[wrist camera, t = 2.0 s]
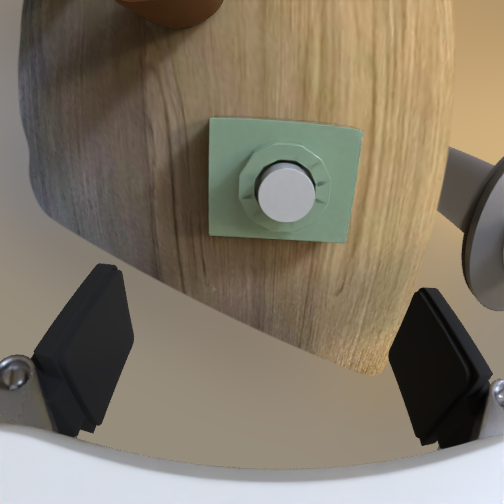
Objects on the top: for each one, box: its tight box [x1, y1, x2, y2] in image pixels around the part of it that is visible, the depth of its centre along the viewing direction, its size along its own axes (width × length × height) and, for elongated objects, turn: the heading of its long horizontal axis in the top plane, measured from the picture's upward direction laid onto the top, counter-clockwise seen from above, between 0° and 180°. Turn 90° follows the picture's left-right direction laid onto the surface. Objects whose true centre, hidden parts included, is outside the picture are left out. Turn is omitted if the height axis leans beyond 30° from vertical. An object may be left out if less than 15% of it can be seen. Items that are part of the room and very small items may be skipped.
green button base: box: [208, 116, 363, 243], centre depth 25 cm, size 12×10×5 cm
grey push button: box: [258, 163, 315, 223], centre depth 23 cm, size 4×4×2 cm
